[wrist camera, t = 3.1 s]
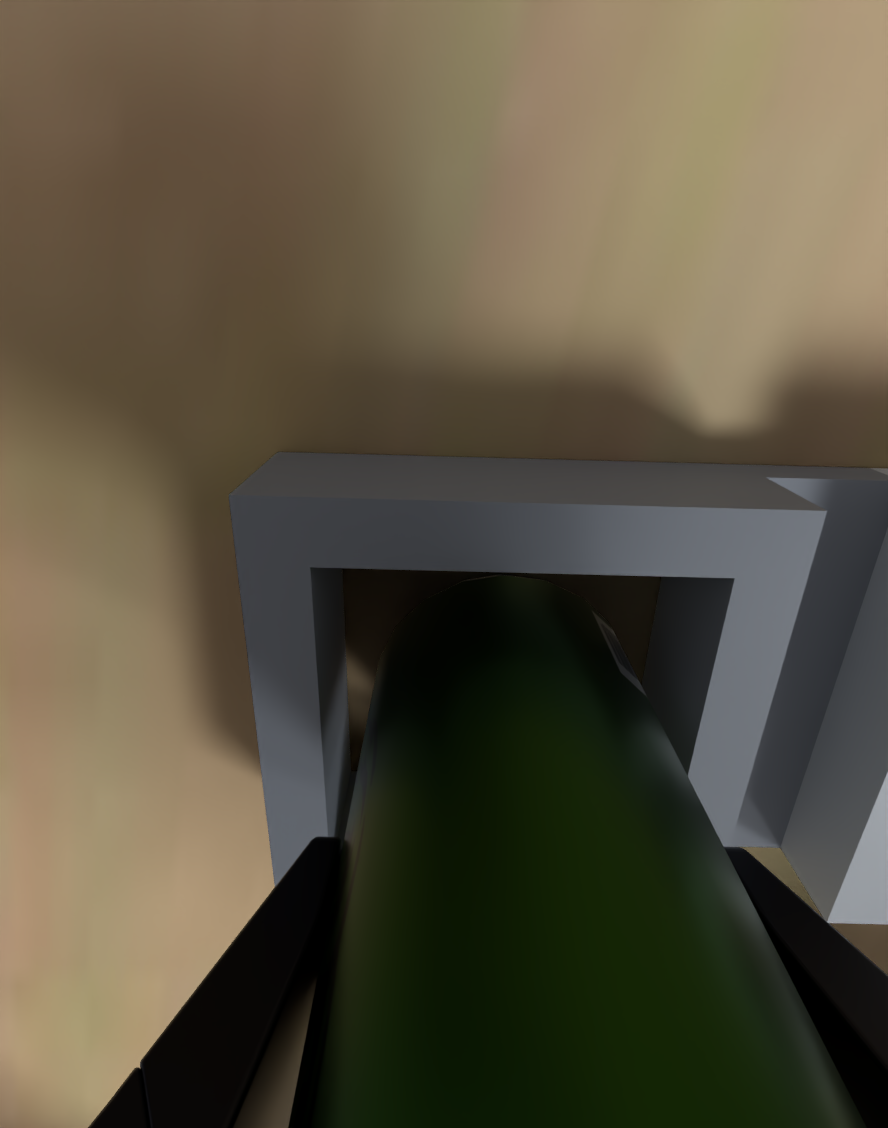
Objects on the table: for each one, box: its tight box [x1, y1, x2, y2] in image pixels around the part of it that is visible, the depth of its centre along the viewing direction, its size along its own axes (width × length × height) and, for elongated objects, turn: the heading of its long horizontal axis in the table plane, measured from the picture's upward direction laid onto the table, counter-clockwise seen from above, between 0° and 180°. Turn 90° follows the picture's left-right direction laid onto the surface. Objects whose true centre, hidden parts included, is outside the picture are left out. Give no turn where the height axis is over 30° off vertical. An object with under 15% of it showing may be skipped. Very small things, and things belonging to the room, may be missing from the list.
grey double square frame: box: [229, 452, 888, 924], centre depth 13 cm, size 21×9×3 cm, turn 88°
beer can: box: [288, 574, 867, 1128], centre depth 8 cm, size 5×5×12 cm
